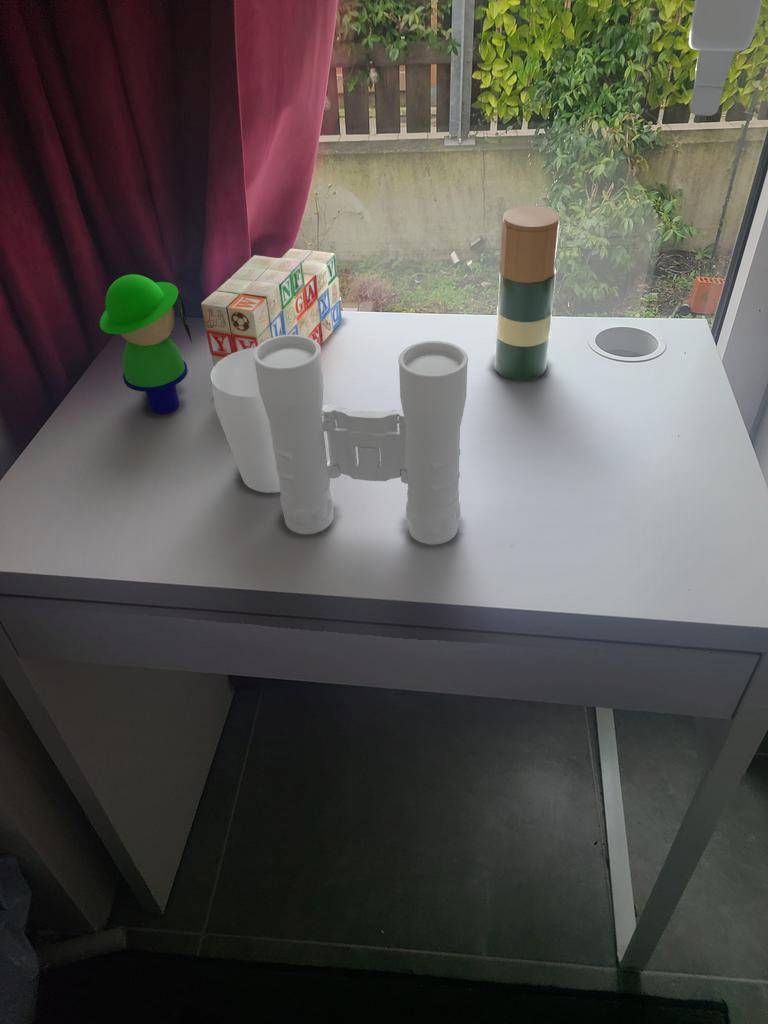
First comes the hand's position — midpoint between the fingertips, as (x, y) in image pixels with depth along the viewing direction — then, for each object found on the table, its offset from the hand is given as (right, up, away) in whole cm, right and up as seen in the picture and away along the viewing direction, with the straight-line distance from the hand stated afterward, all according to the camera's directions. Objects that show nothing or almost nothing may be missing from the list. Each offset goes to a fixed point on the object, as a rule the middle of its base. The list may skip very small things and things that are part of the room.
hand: (705, 93), depth 58 cm
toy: (-48, -17, +35) cm, 62 cm away
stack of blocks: (-35, -11, +41) cm, 55 cm away
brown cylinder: (-8, -4, +29) cm, 31 cm away
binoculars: (-24, -31, +18) cm, 43 cm away
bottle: (-7, -13, +37) cm, 40 cm away
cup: (-34, -26, +24) cm, 49 cm away
